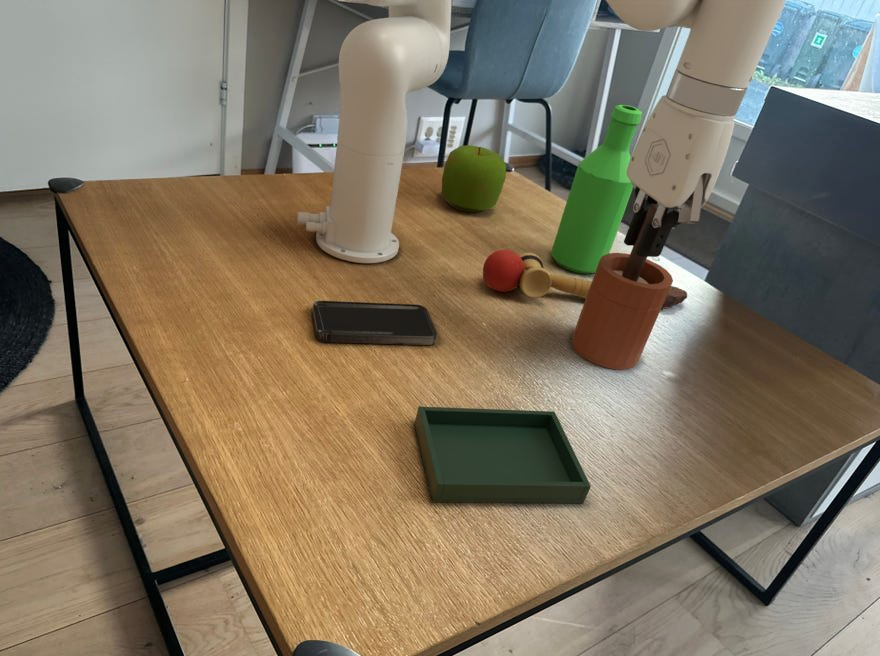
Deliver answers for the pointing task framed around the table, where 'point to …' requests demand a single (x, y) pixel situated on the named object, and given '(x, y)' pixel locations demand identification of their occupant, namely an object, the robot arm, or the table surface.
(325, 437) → the table surface
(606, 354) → the jar
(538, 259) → the kendama
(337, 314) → the phone
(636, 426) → the table surface
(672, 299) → the stone
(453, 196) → the apple
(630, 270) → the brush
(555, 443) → the tray
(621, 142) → the bottle
